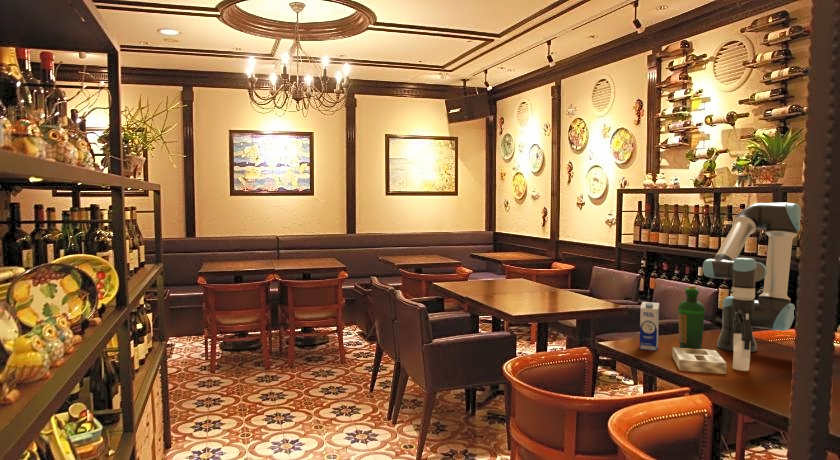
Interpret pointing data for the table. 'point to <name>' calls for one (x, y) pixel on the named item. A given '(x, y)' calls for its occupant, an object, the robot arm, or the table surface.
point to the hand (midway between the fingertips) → (741, 354)
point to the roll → (740, 362)
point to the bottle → (691, 320)
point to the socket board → (699, 360)
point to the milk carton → (649, 326)
